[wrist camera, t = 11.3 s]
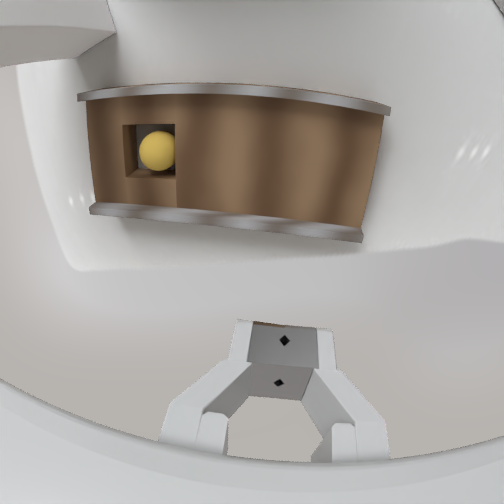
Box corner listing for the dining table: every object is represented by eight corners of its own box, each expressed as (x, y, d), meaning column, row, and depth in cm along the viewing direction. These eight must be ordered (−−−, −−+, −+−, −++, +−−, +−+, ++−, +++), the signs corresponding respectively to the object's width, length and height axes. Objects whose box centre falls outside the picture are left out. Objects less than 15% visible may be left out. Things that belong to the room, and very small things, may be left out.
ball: (174, 134, 25) (132, 136, 25) (175, 176, 28) (135, 176, 27) (182, 126, 29) (145, 128, 29) (183, 163, 31) (147, 164, 31)
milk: (104, -9, 20) (-68, -31, 2) (117, 32, 23) (-70, 36, 5) (62, 20, 22) (-103, 33, 3) (74, 59, 25) (-100, 98, 6)
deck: (376, 102, 25) (391, 107, 21) (353, 221, 32) (361, 242, 28) (101, 88, 26) (77, 93, 23) (109, 197, 34) (90, 214, 30)
